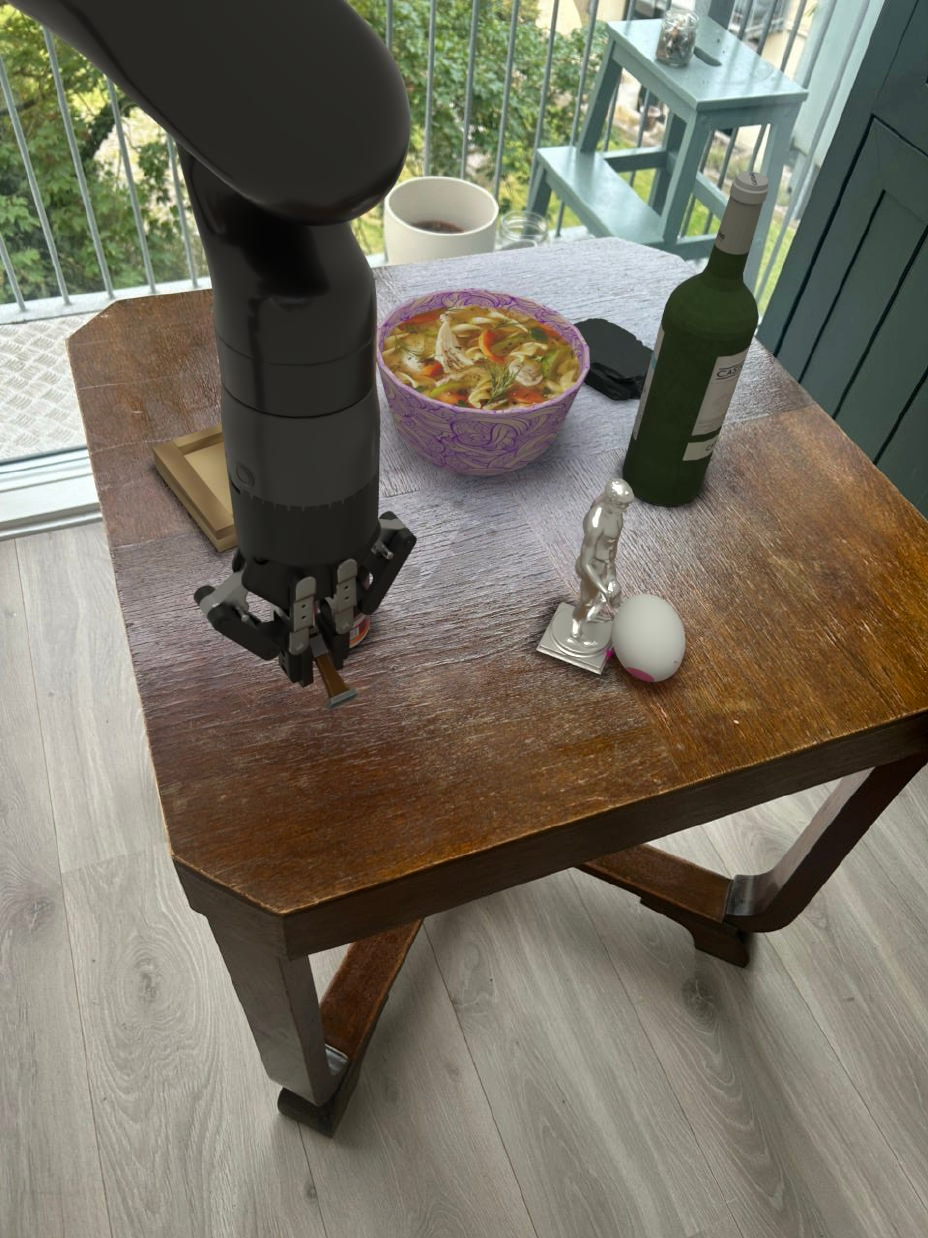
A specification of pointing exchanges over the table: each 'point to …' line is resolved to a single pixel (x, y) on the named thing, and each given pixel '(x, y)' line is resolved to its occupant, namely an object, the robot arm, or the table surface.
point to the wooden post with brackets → (329, 673)
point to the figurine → (592, 586)
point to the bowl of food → (479, 377)
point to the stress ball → (648, 637)
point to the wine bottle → (697, 360)
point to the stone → (614, 358)
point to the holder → (201, 481)
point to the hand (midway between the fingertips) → (314, 669)
